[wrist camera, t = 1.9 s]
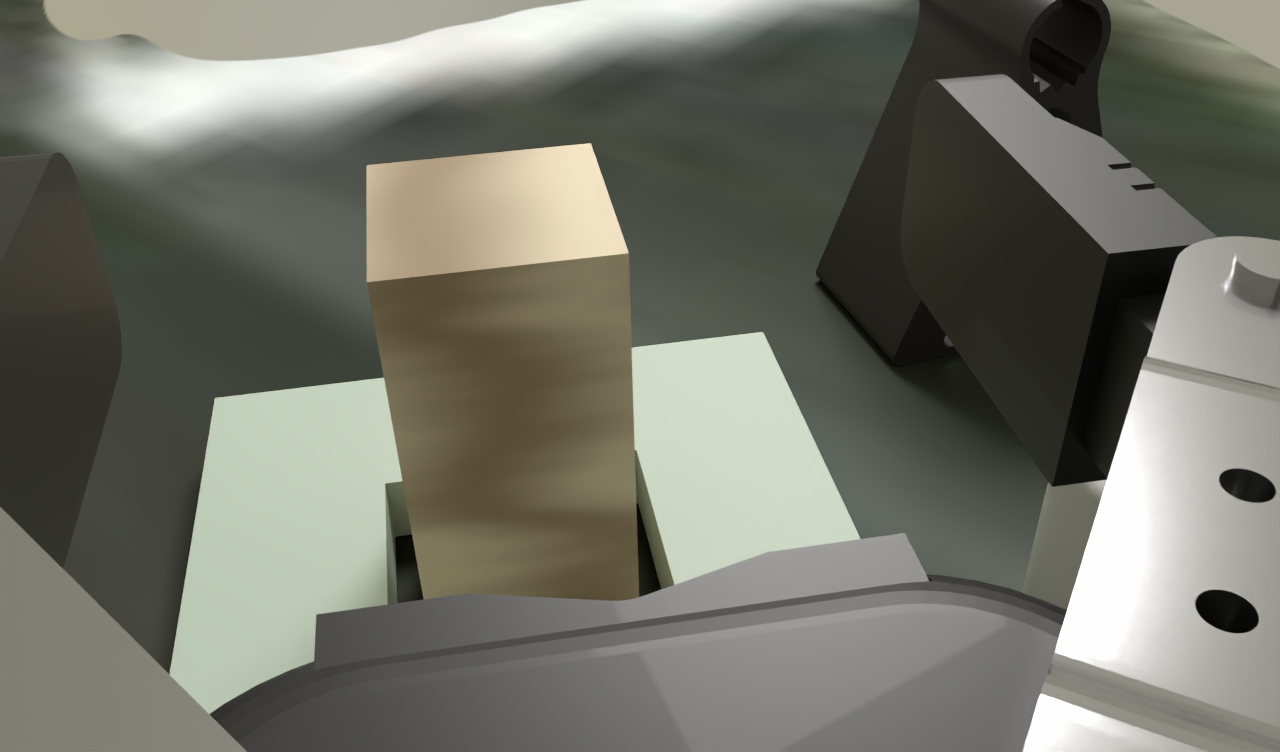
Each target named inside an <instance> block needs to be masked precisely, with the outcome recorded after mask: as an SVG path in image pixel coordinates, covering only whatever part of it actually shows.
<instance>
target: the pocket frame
mask: <svg viewBox="0 0 1280 752" xmlns="http://www.w3.org/2000/svg"><path fill="white" fill-rule="evenodd" d="M632 378H633V411H634V443H635V476H636V503H638V505H639V508H640V512H641V516H642V520H643V523H644V527H645V531H646V535H647V538H648V542H649V546H650V549H651V553H652V557H653V561H654V564H655V568H656V572H657V575H658V579H659V583H660V587H661V590H662V589H664V588H667V587H670V586H673V585H676V584H679V583H681V582H684V581H687V580H690V579H693V578H696V577H698V576H701V575H704V574H707V573H710V572H712V571H715V570H718V569H721V568H724V567H727V566H729V565H732V564H735V563H738V562H741V561H744V560H746V559H749V558H752V557H755V556H758V555H761V554H763V553H766V552H772V551H779V550H786V549H794V548H801V547H808V546H815V545H823V544H830V543H837V542H844V541H851V540H859V539H860V537H859V535H858V533H857V530H856V528H855V526H854V524H853V522H852V520H851V518H850V516H849V513H848V511H847V509H846V507H845V505H844V503H843V501H842V499H841V496H840V494H839V492H838V490H837V488H836V486H835V484H834V482H833V480H832V477H831V475H830V473H829V471H828V469H827V467H826V465H825V463H824V460H823V458H822V456H821V454H820V452H819V450H818V448H817V446H816V443H815V441H814V439H813V437H812V435H811V433H810V431H809V429H808V426H807V424H806V422H805V420H804V418H803V416H802V414H801V412H800V410H799V407H798V405H797V403H796V401H795V399H794V397H793V395H792V393H791V390H790V388H789V386H788V384H787V382H786V380H785V378H784V376H783V373H782V371H781V369H780V367H779V365H778V363H777V361H776V359H775V357H774V354H773V352H772V350H771V348H770V346H769V344H768V342H767V340H766V337H765V335H764V333H763V332H758V333H750V334H742V335H734V336H725V337H717V338H709V339H700V340H692V341H684V342H676V343H667V344H659V345H651V346H643V347H634V348H632ZM404 535H412V532H411V526H410V520H409V515H408V509H407V504H406V498H405V493H404V487H403V481H402V476H401V470H400V465H399V459H398V453H397V448H396V442H395V437H394V431H393V425H392V420H391V414H390V409H389V403H388V397H387V392H386V386H385V381H384V378H378V379H370V380H361V381H353V382H345V383H337V384H328V385H320V386H312V387H303V388H295V389H287V390H279V391H270V392H262V393H254V394H246V395H237V396H229V397H221V398H215V401H214V408H213V414H212V420H211V426H210V432H209V438H208V444H207V450H206V456H205V462H204V468H203V474H202V480H201V486H200V492H199V499H198V505H197V511H196V517H195V523H194V529H193V535H192V541H191V547H190V553H189V559H188V565H187V571H186V577H185V583H184V590H183V596H182V602H181V608H180V614H179V620H178V626H177V632H176V638H175V644H174V650H173V656H172V662H171V668H170V676H171V677H172V678H173V679H174V680H175V681H176V682H177V683H178V684H179V685H180V686H181V687H182V688H183V689H184V690H185V691H186V692H187V693H188V694H189V695H190V696H191V697H192V698H193V699H194V700H195V701H196V702H197V703H198V704H199V705H200V706H201V707H202V708H203V709H204V710H205V711H206V712H207V713H208V714H210V713H212V712H213V711H215V710H216V709H217V708H219V707H220V706H222V705H223V704H225V703H226V702H228V701H230V700H232V699H233V698H235V697H237V696H239V695H240V694H242V693H244V692H246V691H247V690H249V689H251V688H253V687H254V686H256V685H258V684H260V683H263V682H265V681H267V680H269V679H271V678H274V677H276V676H278V675H280V674H282V673H284V672H287V671H289V670H291V669H294V668H297V667H299V666H302V665H305V664H308V663H310V662H313V661H314V652H315V630H316V614H323V613H330V612H338V611H345V610H352V609H359V608H367V607H374V606H381V605H388V604H395V603H397V580H396V545H395V537H397V536H404Z"/></svg>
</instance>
